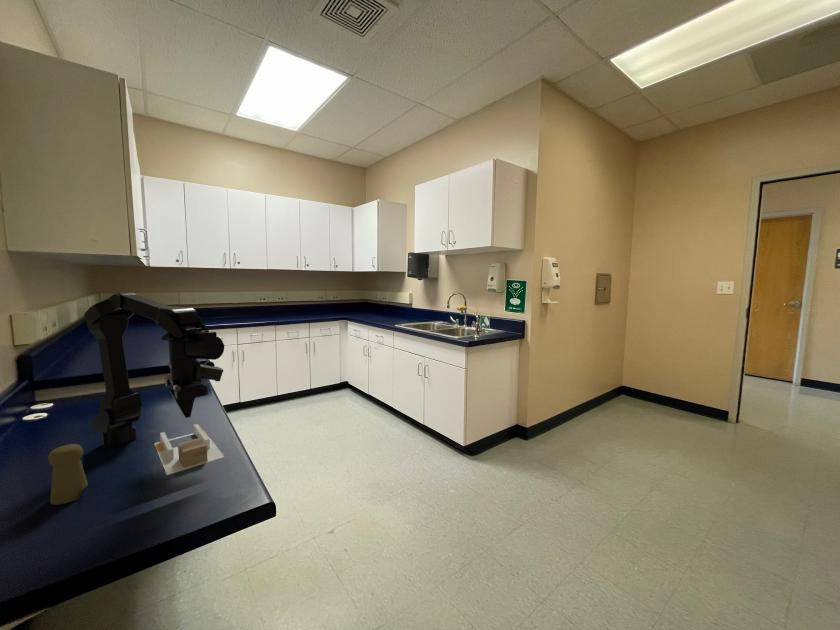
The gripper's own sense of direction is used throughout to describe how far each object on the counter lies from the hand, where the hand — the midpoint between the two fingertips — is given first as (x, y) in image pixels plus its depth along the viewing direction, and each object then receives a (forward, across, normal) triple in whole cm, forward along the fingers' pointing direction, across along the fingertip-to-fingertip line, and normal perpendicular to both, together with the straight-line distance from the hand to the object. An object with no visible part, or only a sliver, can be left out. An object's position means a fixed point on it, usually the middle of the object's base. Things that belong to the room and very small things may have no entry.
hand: (187, 417), depth 89 cm
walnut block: (+10, -4, 0) cm, 11 cm away
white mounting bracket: (+11, +3, 0) cm, 11 cm away
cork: (+11, 0, +22) cm, 25 cm away
